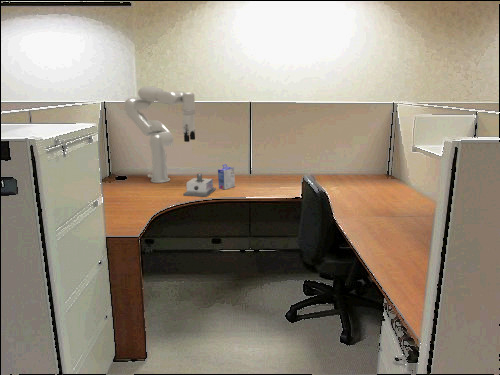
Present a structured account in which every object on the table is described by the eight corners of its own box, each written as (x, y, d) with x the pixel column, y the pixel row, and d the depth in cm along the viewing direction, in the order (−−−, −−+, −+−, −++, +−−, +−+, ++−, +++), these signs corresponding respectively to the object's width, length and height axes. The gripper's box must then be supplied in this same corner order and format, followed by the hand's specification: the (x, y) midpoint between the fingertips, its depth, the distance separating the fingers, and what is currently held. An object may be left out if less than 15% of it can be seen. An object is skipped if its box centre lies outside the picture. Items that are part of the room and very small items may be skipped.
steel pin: (196, 191, 260) (196, 174, 257) (198, 189, 262) (197, 173, 260) (201, 191, 259) (201, 174, 256) (203, 190, 262) (202, 173, 259)
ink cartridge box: (228, 185, 278) (228, 163, 274) (235, 186, 274) (235, 164, 271) (217, 188, 270) (217, 165, 267) (224, 189, 267) (224, 166, 264)
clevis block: (183, 195, 254) (182, 183, 252) (194, 188, 271) (193, 176, 269) (206, 197, 251) (206, 184, 249) (216, 189, 268) (215, 178, 266)
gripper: (188, 111, 278) (189, 138, 282) (177, 113, 261) (178, 142, 266) (199, 111, 276) (200, 139, 280) (189, 114, 260) (190, 142, 264)
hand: (189, 140), depth 273 cm, fingers open, 9 cm apart
